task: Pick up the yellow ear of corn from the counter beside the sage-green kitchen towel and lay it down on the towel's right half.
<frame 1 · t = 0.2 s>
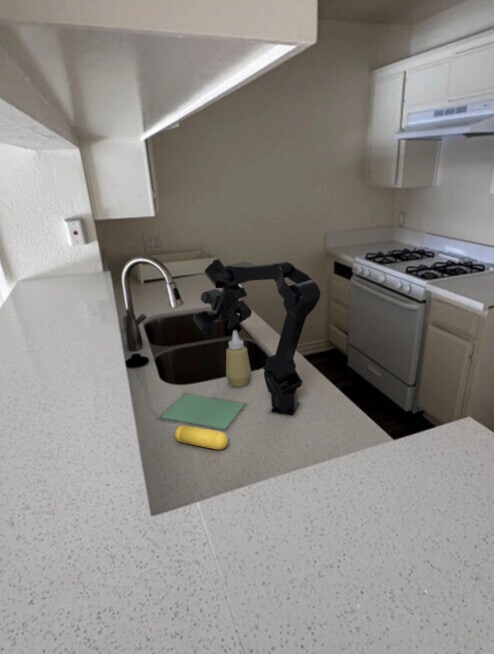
hand: (217, 332, 135), 15 cm above the worktop, tool tilted 30°, fingers open, 9 cm apart
towel: (204, 411, 120), on the worktop
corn: (202, 444, 106), on the worktop
squeeze bottle: (239, 383, 135), on the worktop
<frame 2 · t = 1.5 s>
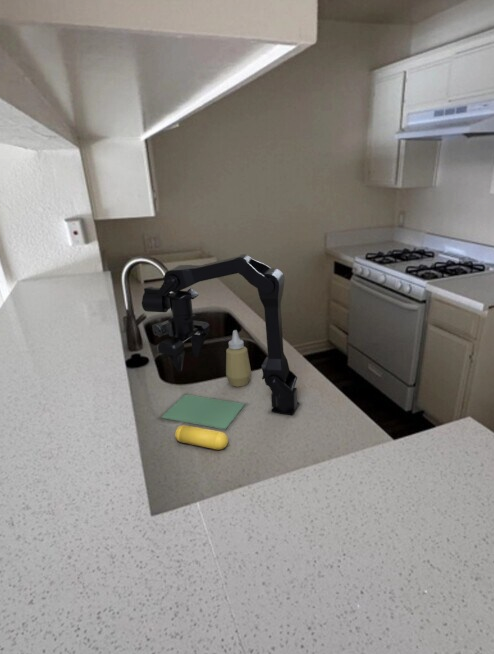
hand: (188, 364, 121), 12 cm above the worktop, tool pointing down, fingers open, 9 cm apart
nothing on the worktop moved.
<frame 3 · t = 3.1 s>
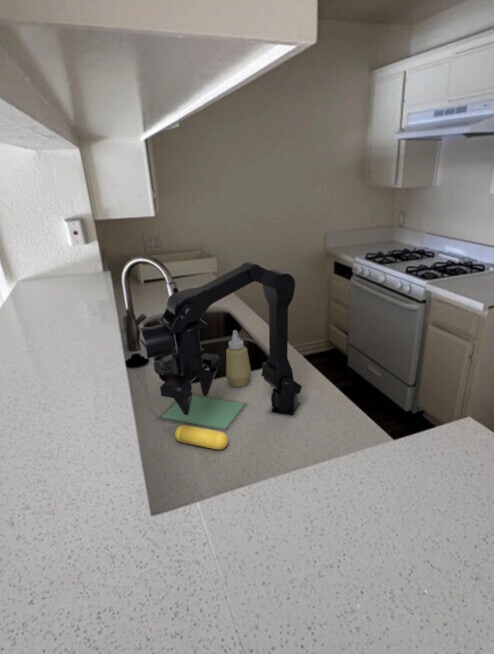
hand: (196, 404, 103), 10 cm above the worktop, tool pointing down, fingers open, 9 cm apart
nothing on the worktop moved.
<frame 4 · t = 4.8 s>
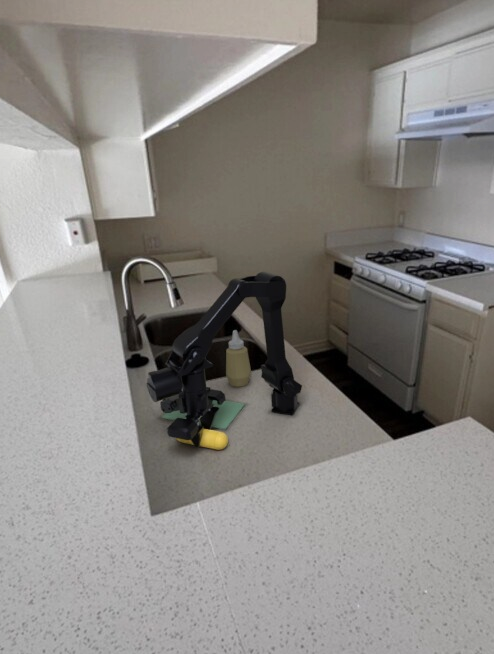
hand: (201, 440, 105), 1 cm above the worktop, tool pointing down, fingers closed on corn, 4 cm apart
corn: (202, 444, 106), on the worktop, touching gripper
everything else where it was.
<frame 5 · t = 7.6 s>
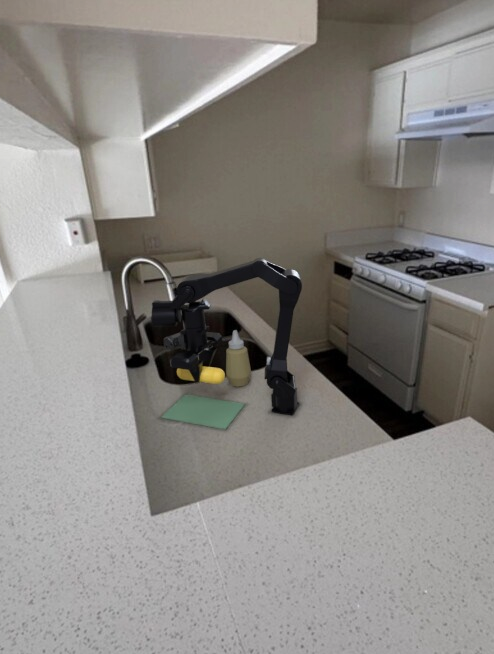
hand: (201, 377, 116), 11 cm above the worktop, tool pointing down, fingers closed on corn, 4 cm apart
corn: (201, 380, 116), point 10 cm above the worktop, touching gripper
everything else where it was.
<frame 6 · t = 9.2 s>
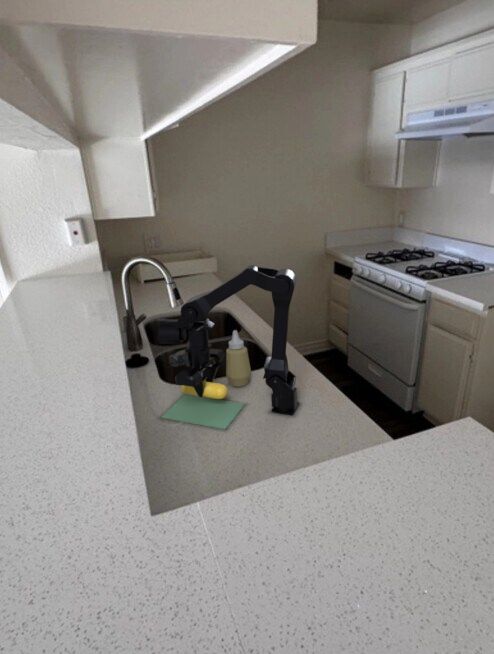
hand: (204, 392, 121), 4 cm above the worktop, tool pointing down, fingers closed on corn, 4 cm apart
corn: (204, 395, 121), point 3 cm above the worktop, touching gripper
everything else where it was.
when the fingers open (1 cm above the worktop, at t = 10.3 s): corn stays where it is, resting on towel.
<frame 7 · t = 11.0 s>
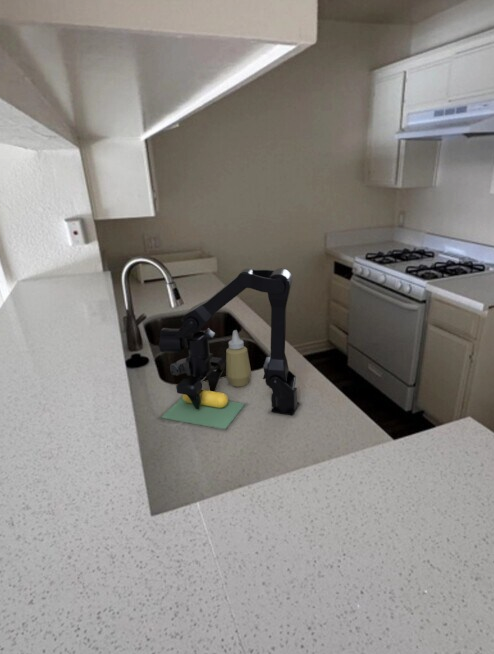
hand: (205, 400, 122), 2 cm above the worktop, tool pointing down, fingers open, 9 cm apart
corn: (205, 404, 123), resting on towel
everything else where it was.
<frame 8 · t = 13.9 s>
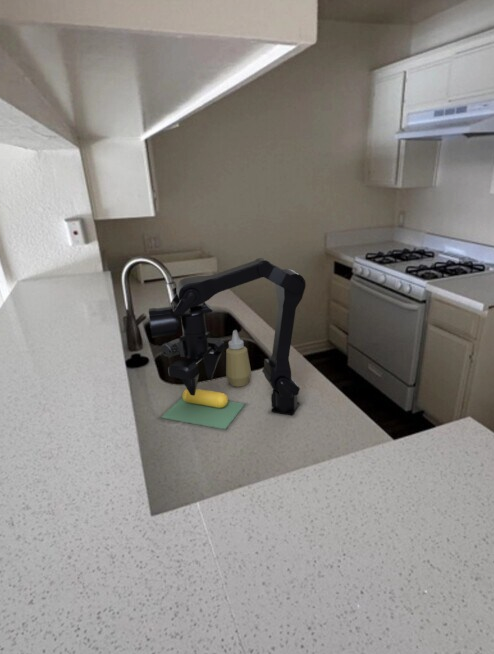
hand: (201, 386, 109), 12 cm above the worktop, tool pointing down, fingers open, 9 cm apart
nothing on the worktop moved.
at the end: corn inside the target area on the towel (1.1 cm from its centre), point 0.4 cm above the towel's base; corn touching towel; the gripper is holding nothing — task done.
